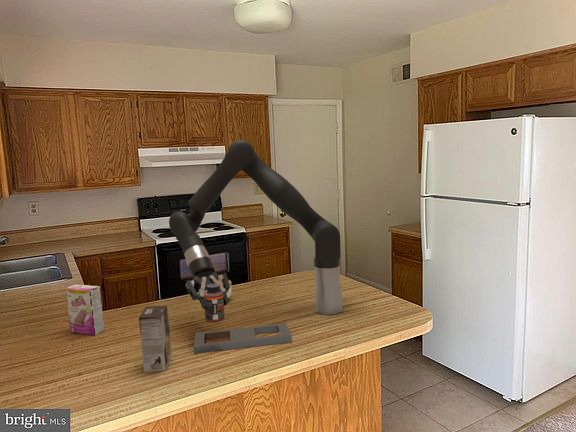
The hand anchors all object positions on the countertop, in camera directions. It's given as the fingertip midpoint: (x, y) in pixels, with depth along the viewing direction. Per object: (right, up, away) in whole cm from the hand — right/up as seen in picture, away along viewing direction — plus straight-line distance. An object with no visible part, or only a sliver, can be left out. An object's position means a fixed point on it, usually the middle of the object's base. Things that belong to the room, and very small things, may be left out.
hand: (216, 306), depth 135 cm
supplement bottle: (-1, -5, +2) cm, 5 cm away
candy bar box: (-48, -13, +18) cm, 53 cm away
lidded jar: (-6, -7, +44) cm, 45 cm away
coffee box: (-15, -15, -9) cm, 23 cm away
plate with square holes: (+8, -12, +4) cm, 15 cm away
